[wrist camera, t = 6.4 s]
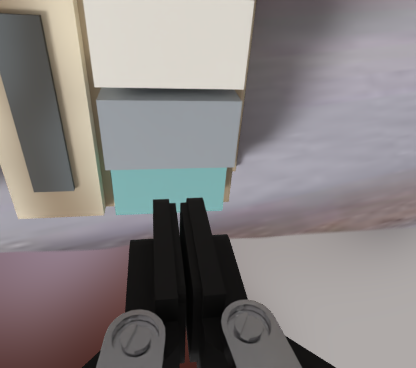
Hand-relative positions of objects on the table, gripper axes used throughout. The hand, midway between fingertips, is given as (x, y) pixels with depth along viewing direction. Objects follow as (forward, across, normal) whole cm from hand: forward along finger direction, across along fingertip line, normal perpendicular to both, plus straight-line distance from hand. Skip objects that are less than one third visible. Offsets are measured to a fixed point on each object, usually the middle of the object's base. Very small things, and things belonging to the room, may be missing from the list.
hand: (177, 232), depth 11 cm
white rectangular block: (+12, 0, -5) cm, 13 cm away
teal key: (+14, 0, +4) cm, 14 cm away
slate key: (+12, 0, -1) cm, 12 cm away
